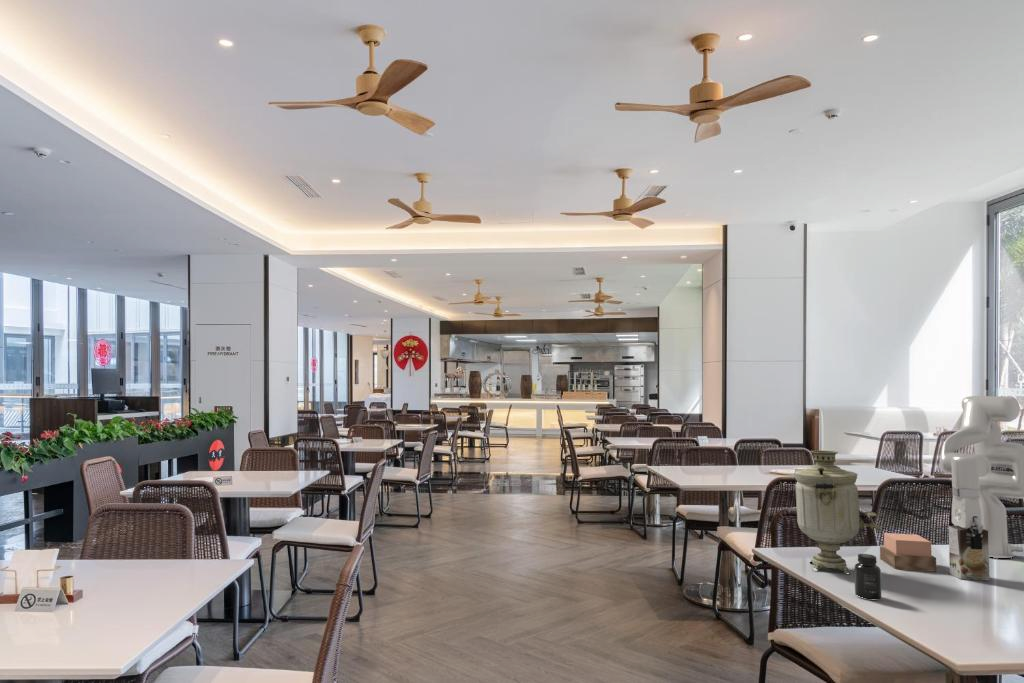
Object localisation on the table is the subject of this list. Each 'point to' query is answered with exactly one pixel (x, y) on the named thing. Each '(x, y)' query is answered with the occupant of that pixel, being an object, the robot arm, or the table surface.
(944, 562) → the table surface
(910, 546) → the tower top block
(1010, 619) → the table surface
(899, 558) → the tower base block
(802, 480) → the samovar
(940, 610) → the table surface
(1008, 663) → the table surface
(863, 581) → the supplement bottle
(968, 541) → the coffee box
